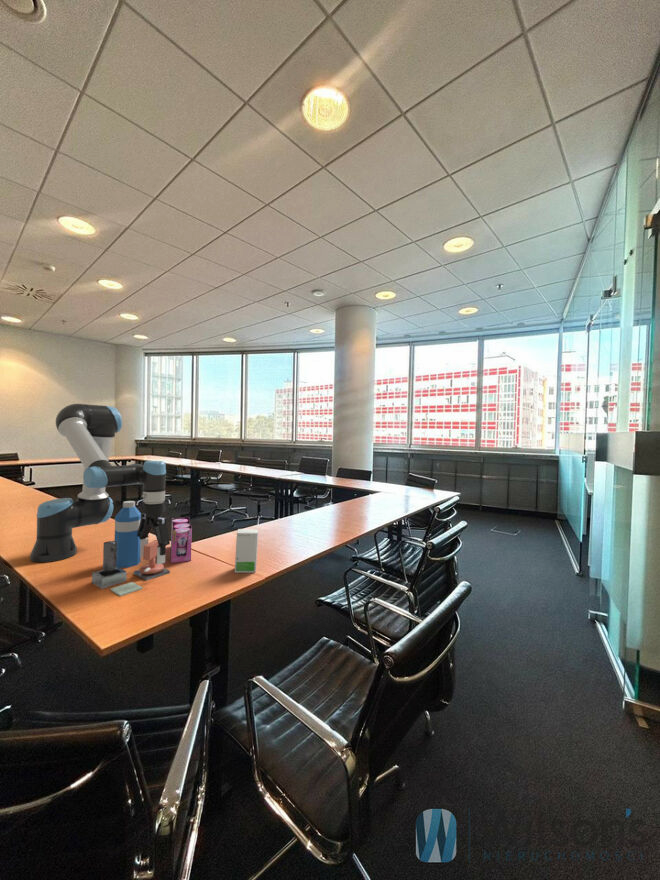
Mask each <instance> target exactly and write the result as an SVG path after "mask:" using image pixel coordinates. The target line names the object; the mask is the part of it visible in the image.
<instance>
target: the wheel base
mask: <svg viewBox="0 0 660 880" xmlns="http://www.w3.org/2000/svg"><path fill="white" fill-rule="evenodd" d="M170 573H171V570H170V569H168V568H166V567H164V569H163V570H162V571H160V572H158V573H154V574H142V573H140V569H138V570H134V571H133V575H134V576H137V577H138V578H140V579H142V580H144V581H149V580H152V579H155V578H158V577H162V576H164V575H168V574H170Z"/></svg>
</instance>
